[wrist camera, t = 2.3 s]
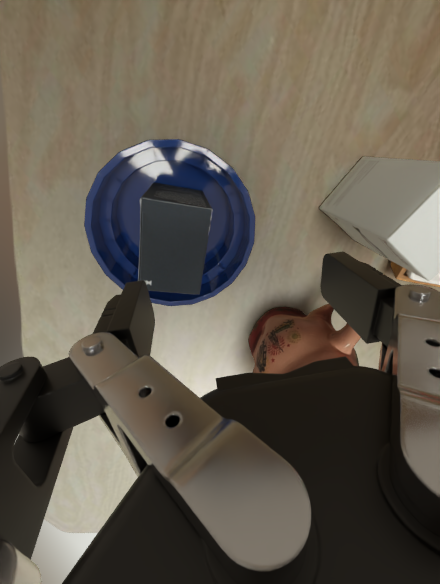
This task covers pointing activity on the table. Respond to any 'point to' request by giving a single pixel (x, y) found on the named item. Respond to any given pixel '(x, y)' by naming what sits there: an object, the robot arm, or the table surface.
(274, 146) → the table surface
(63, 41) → the table surface
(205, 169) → the bowl
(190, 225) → the box
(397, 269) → the soap dish
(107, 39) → the table surface
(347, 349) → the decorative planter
